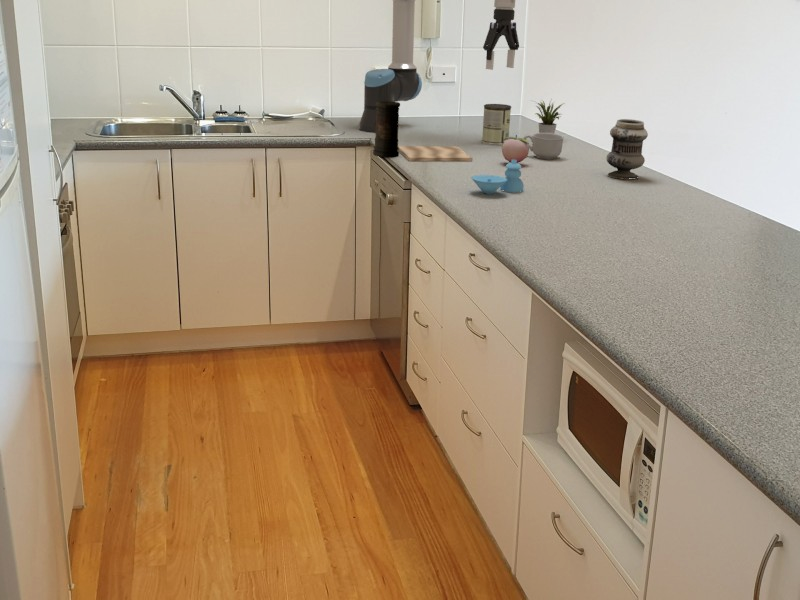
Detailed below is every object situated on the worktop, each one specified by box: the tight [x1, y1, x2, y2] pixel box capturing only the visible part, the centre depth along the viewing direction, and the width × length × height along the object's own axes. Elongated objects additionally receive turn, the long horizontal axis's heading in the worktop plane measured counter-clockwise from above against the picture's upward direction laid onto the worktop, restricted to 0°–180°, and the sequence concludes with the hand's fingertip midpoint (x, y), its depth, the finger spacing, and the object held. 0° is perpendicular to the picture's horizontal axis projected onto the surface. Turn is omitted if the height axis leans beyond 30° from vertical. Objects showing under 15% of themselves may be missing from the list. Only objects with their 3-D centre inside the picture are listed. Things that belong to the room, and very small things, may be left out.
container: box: [372, 101, 401, 158], centre depth 312 cm, size 9×9×18 cm
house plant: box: [530, 98, 566, 134], centre depth 357 cm, size 14×14×16 cm
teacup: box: [523, 132, 565, 160], centre depth 322 cm, size 14×11×8 cm
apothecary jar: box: [605, 118, 649, 180], centre depth 292 cm, size 12×12×18 cm
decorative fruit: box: [501, 134, 530, 164], centre depth 306 cm, size 9×8×10 cm
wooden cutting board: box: [397, 145, 473, 162], centre depth 318 cm, size 22×22×1 cm
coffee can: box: [481, 103, 512, 146], centre depth 346 cm, size 10×10×14 cm
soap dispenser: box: [470, 160, 525, 195], centre depth 265 cm, size 18×10×9 cm, turn 127°
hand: (499, 68), depth 338 cm, fingers open, 13 cm apart
